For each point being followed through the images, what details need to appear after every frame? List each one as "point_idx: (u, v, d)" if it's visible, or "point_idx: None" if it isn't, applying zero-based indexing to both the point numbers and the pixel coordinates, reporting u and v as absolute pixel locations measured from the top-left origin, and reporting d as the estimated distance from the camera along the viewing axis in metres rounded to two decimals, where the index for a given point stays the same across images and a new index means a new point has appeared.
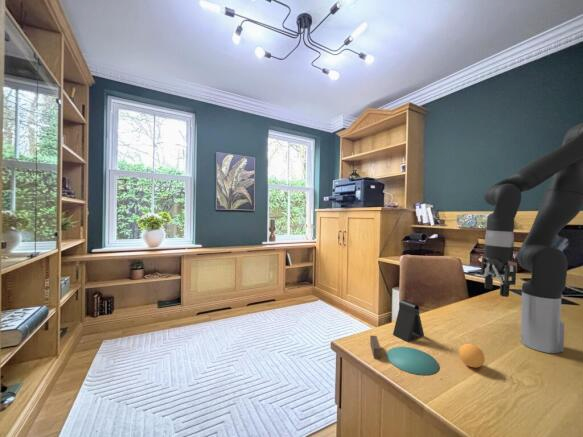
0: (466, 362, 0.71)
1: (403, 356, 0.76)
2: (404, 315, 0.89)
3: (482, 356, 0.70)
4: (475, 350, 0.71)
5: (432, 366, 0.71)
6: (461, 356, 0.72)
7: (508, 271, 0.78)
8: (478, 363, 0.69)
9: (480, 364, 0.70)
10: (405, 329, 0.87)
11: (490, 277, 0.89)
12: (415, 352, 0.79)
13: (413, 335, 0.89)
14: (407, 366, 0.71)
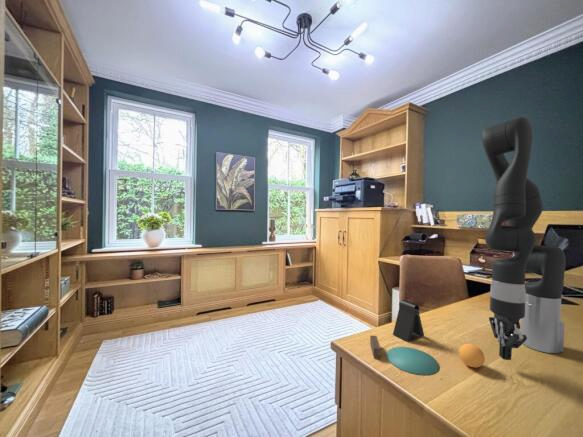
0: (466, 362, 0.71)
1: (403, 356, 0.76)
2: (404, 315, 0.89)
3: (482, 356, 0.70)
4: (475, 350, 0.71)
5: (432, 366, 0.71)
6: (461, 356, 0.72)
7: (515, 341, 0.66)
8: (478, 363, 0.69)
9: (480, 364, 0.70)
10: (405, 329, 0.87)
11: None
12: (415, 352, 0.79)
13: (413, 335, 0.89)
14: (407, 366, 0.71)
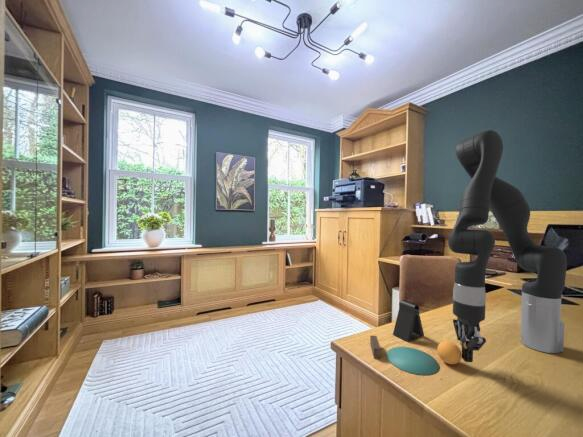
0: (456, 363, 0.72)
1: (403, 356, 0.76)
2: (404, 315, 0.89)
3: (447, 349, 0.72)
4: (441, 353, 0.73)
5: (432, 366, 0.71)
6: None
7: (475, 343, 0.66)
8: (454, 355, 0.71)
9: (455, 353, 0.71)
10: (405, 329, 0.87)
11: None
12: (415, 352, 0.79)
13: (413, 335, 0.89)
14: (407, 366, 0.71)
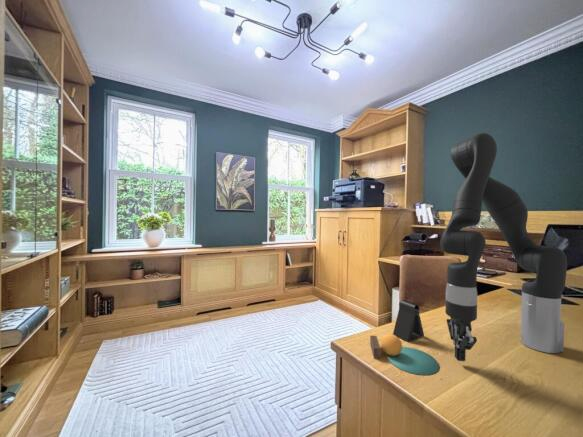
0: (389, 354, 0.76)
1: (403, 356, 0.76)
2: (404, 315, 0.89)
3: (395, 341, 0.76)
4: (387, 339, 0.77)
5: (432, 366, 0.71)
6: (384, 351, 0.78)
7: (466, 343, 0.68)
8: (395, 349, 0.75)
9: (398, 349, 0.75)
10: (405, 329, 0.87)
11: None
12: (415, 352, 0.79)
13: (413, 335, 0.89)
14: (407, 366, 0.71)
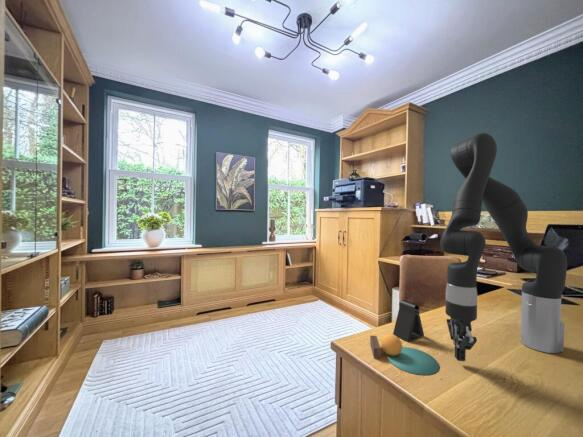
0: (389, 354, 0.76)
1: (403, 356, 0.76)
2: (404, 315, 0.89)
3: (395, 341, 0.76)
4: (387, 339, 0.77)
5: (432, 366, 0.71)
6: (384, 350, 0.78)
7: (466, 343, 0.68)
8: (395, 349, 0.75)
9: (398, 349, 0.75)
10: (405, 329, 0.87)
11: None
12: (415, 352, 0.79)
13: (413, 335, 0.89)
14: (407, 366, 0.71)
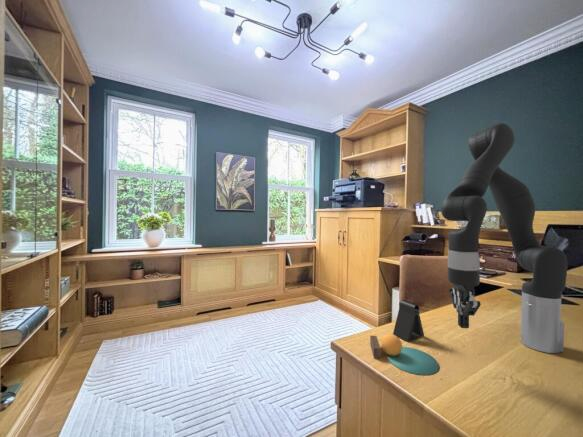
0: (389, 354, 0.76)
1: (403, 356, 0.76)
2: (404, 315, 0.89)
3: (395, 341, 0.76)
4: (387, 339, 0.77)
5: (432, 366, 0.71)
6: (384, 350, 0.78)
7: (470, 307, 0.67)
8: (395, 349, 0.75)
9: (398, 349, 0.75)
10: (405, 329, 0.87)
11: None
12: (415, 352, 0.79)
13: (413, 335, 0.89)
14: (407, 366, 0.71)
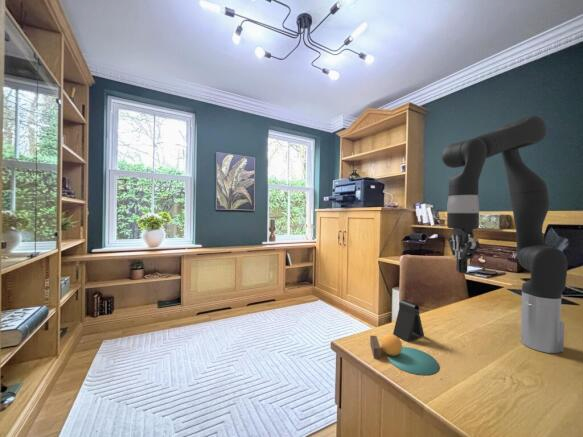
0: (389, 354, 0.76)
1: (403, 356, 0.76)
2: (404, 315, 0.89)
3: (395, 341, 0.76)
4: (387, 339, 0.77)
5: (432, 366, 0.71)
6: (384, 350, 0.78)
7: (468, 248, 0.67)
8: (395, 349, 0.75)
9: (398, 349, 0.75)
10: (405, 329, 0.87)
11: None
12: (415, 352, 0.79)
13: (413, 335, 0.89)
14: (407, 366, 0.71)
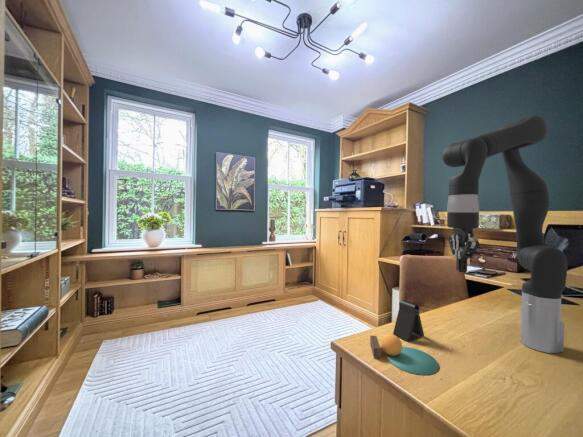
0: (389, 354, 0.76)
1: (403, 356, 0.76)
2: (404, 315, 0.89)
3: (395, 341, 0.76)
4: (387, 339, 0.77)
5: (432, 366, 0.71)
6: (384, 350, 0.78)
7: (468, 248, 0.67)
8: (395, 349, 0.75)
9: (398, 349, 0.75)
10: (405, 329, 0.87)
11: None
12: (415, 352, 0.79)
13: (413, 335, 0.89)
14: (407, 366, 0.71)
